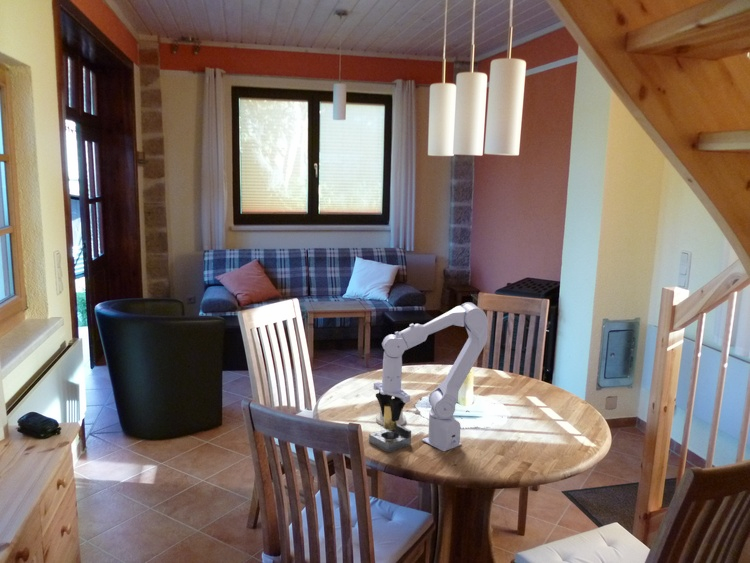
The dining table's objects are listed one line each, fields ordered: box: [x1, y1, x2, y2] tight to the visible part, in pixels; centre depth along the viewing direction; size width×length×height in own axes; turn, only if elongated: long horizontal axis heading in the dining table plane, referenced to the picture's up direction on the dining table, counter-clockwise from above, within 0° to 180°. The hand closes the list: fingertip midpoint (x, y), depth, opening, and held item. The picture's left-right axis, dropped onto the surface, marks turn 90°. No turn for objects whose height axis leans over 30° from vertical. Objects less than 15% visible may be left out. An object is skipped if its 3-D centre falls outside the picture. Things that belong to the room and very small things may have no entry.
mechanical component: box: [375, 407, 407, 426], centre depth 199 cm, size 10×4×10 cm
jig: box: [368, 424, 412, 453], centre depth 181 cm, size 9×9×4 cm
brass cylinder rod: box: [383, 403, 397, 430], centre depth 180 cm, size 4×4×7 cm
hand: (390, 418), depth 180 cm, fingers closed on brass cylinder rod, 4 cm apart
